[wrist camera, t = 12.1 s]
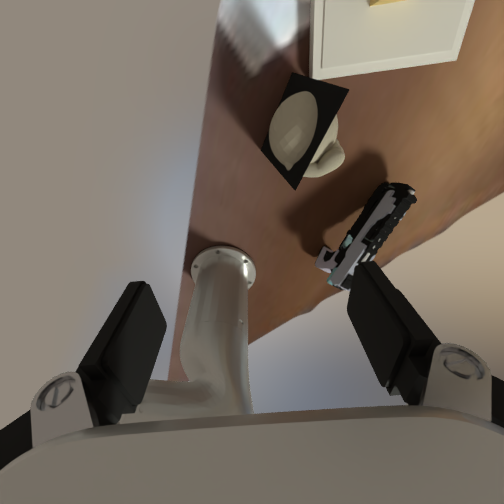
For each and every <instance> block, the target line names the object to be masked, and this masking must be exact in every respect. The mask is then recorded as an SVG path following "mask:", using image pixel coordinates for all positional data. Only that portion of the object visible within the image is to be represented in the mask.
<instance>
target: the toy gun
mask: <svg viewBox="0 0 504 504" xmlns="http://www.w3.org/2000/svg"><path fill="white" fill-rule="evenodd" d="M414 193H415V190H414V189H413V188H412V187H410V186H409V185H408V184H403V183H390V184H388V183H386V182H385V183H382V184H381V185H380V186H379V187H378V188H377V189H376V190H375V191H374V194H373V196H372V197H370V199H369V200H368V201H369V202H368V203H367V205H365V206H364V209H363V211H362V213H361V215H359V218H358V219H357V221H355V223H354V225H353V226H352V227H351V230H348V232H347V235H346V237H345V238H344V240H343V241H342V243H341V245H340V247H339V249H337V251H335V252H333V251H332V250H330V249H329V248H327V247H325V246H324V247H323V248H322V249H321V251H320V253H319V255H318V257H317V260H316V262H315V266H316V267H318V268H319V269H322V270H324V271H326V272H328V273H331V274H330V276H329V277H328V278H327V282H328V283H329V284H331V285H333V286H334V287H336V288H339V289H341V290H348V291H350V289H351V283H352V278H353V273H354V268H355V266H356V265H358V264H359V262H364V261H372V260H373V258H374V257H375V255H376V253H377V250H378V249H379V248H380V247H381V246H382V245H383V242H384V241H386V239H387V238H388V235H389V234H391V233H392V231H393V228H394V227H395V226H397V224H398V223H399V222H398V221H399V220H401V219H402V218H403V216H404V215H405V214H406V213H405V212H406V211H407V210H408V209H409V208H410V205H411V204H412V203H414V204H415V203H416V201H417V199H416V197H415V195H413V194H414Z"/></svg>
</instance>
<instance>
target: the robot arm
mask: <svg viewBox="0 0 504 504" xmlns="http://www.w3.org/2000/svg"><path fill="white" fill-rule="evenodd" d="M191 276H192V279H193V281H194V282H195V288H194V292H193V296H192V300H191V304H190V308H189V312H188V316H187V320H186V324H185V328H184V332H183V336H182V340H181V344H180V358H181V363H182V366H183V368H184V371H185V373H186V375H187V377H188V379H189V381H190V382H183V381H182V382H175V381H164V380H153V379H150V377H151V373H152V371H153V368H154V365H155V362H156V359H157V356H158V352H159V349H160V347H161V343H162V341H163V337H164V335H165V332H166V327H167V325H166V321H165V318H164V316H163V314H162V312H161V309H160V307H159V305H158V303H157V301H156V298H155V296H154V294H153V291H152V289H151V287H150V285H149V284H146V282H144V281H137V282H130V283H129V284H128V285H127V287H126V289H125V290H124V292H123V294H122V296H121V297H120V299H119V300H118V302H117V304H116V305H115V307H114V308H113V310H112V312H111V313H110V315H109V317H108V318H107V320H106V322H105V323H104V325H103V327H102V328H101V330H100V331H99V333H98V335H97V336H96V338H95V340H94V341H93V343H92V345H91V346H90V348H89V350H88V351H87V353H86V354H85V356H84V358H83V359H82V361H81V363H80V364H79V367H78V369H77V370H76V372H66V373H62V374H60V375H58V376H56V377H54V378H52V379H51V380H50V381H48V382H47V383H46V384H45V385H44V386H42V387H41V388H40V390H39V391H38V392H37V393H36V395H35V396H34V398H33V400H32V403H31V409H30V410H29V411H28V412H26V413H25V414H23V415H22V416H20V417H19V418H17V419H16V420H14V421H13V422H12V423H10V424H9V425H7V426H6V427H4V428H3V429H1V430H0V504H504V381H503V380H500V379H499V378H497V377H494V376H492V375H491V372H490V369H489V367H488V366H487V364H486V362H485V361H484V360H483V359H482V358H481V357H479V356H478V355H477V354H476V353H474V352H473V351H471V350H469V349H467V348H465V347H463V346H460V345H457V344H451V343H445V344H441V343H440V341H439V340H438V339H437V338H436V336H435V335H434V334H433V332H432V331H431V330H430V328H429V327H428V326H427V325H426V323H425V322H424V321H423V319H422V318H421V317H420V316H419V315H418V313H417V312H416V311H415V309H414V308H413V307H412V305H411V304H410V303H409V302H408V300H407V299H406V298H405V297H404V295H403V294H402V293H401V292H400V291H399V290H398V289H396V288H395V287H394V286H393V284H392V283H391V282H390V280H388V278H387V277H386V276H385V274H384V273H383V271H382V270H381V269H380V267H379V266H378V265H377V263H376V262H375V261H364V262H359V264H358V265H356V266H355V268H354V273H353V278H352V283H351V289H350V294H349V299H348V305H347V312H348V315H349V317H350V320H351V322H352V324H353V326H354V328H355V330H356V333H357V335H358V337H359V339H360V341H361V343H362V346H363V348H364V350H365V352H366V354H367V357H368V359H369V361H370V363H371V365H372V367H373V369H374V372H375V374H376V376H377V378H378V380H379V382H380V384H381V386H382V387H386V388H387V391H388V393H389V395H390V396H391V395H401V396H402V398H403V400H404V402H406V405H404V406H403V405H399V406H377V407H355V408H338V409H322V410H306V411H291V412H277V413H276V412H275V413H261V414H254V411H253V405H252V399H251V392H250V384H249V372H248V289H249V288H250V287H251V286H252V285H253V283H254V281H255V277H256V269H255V265H254V262H253V261H252V259H251V258H250V257H249V256H248V255H247V254H246V253H244V252H243V251H241V250H239V249H237V248H234V247H230V246H214V247H210V248H207V249H205V250H203V251H202V252H200V253H199V254H198V255H197V256H196V257H195V259H194V260H193V263H192V266H191Z"/></svg>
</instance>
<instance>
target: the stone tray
mask: <svg viewBox="0 0 504 504" xmlns="http://www.w3.org/2000/svg"><path fill="white" fill-rule="evenodd" d="M474 1H475V0H405V1H399V2H393V3H388V4H382V5H376V6H370V0H311V6H310V53H309V78H313V79H316V80H321V79H328V78H335V77H342V76H349V75H356V74H363V73H370V72H377V71H385V70H392V69H399V68H406V67H413V66H420V65H427V64H434V63H441V62H448V61H455V60H457V57H458V53H459V50H460V47H461V44H462V40H463V37H464V34H465V31H466V27H467V24H468V21H469V18H470V14H471V11H472V8H473V5H474ZM369 6H370V7H369Z"/></svg>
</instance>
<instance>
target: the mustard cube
mask: <svg viewBox="0 0 504 504" xmlns="http://www.w3.org/2000/svg"><path fill="white" fill-rule="evenodd" d="M399 1H405V0H370V6H376V5H382V4H388V3H393V2H399ZM370 6H369V7H370Z"/></svg>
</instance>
